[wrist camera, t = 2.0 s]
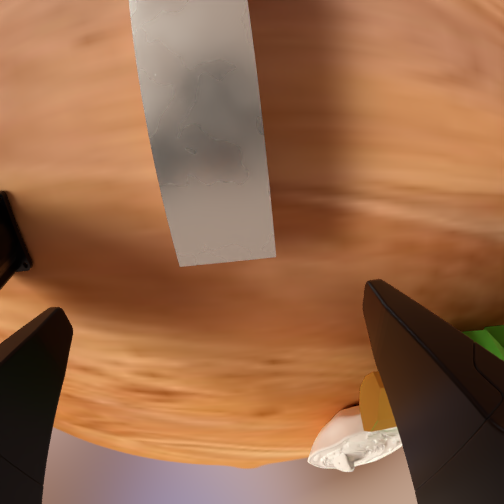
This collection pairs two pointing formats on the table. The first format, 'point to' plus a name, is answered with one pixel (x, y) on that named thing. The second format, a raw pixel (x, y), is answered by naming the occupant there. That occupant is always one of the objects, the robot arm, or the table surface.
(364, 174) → the table surface
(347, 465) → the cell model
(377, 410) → the decorative tree
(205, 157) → the grey rectangular bar
